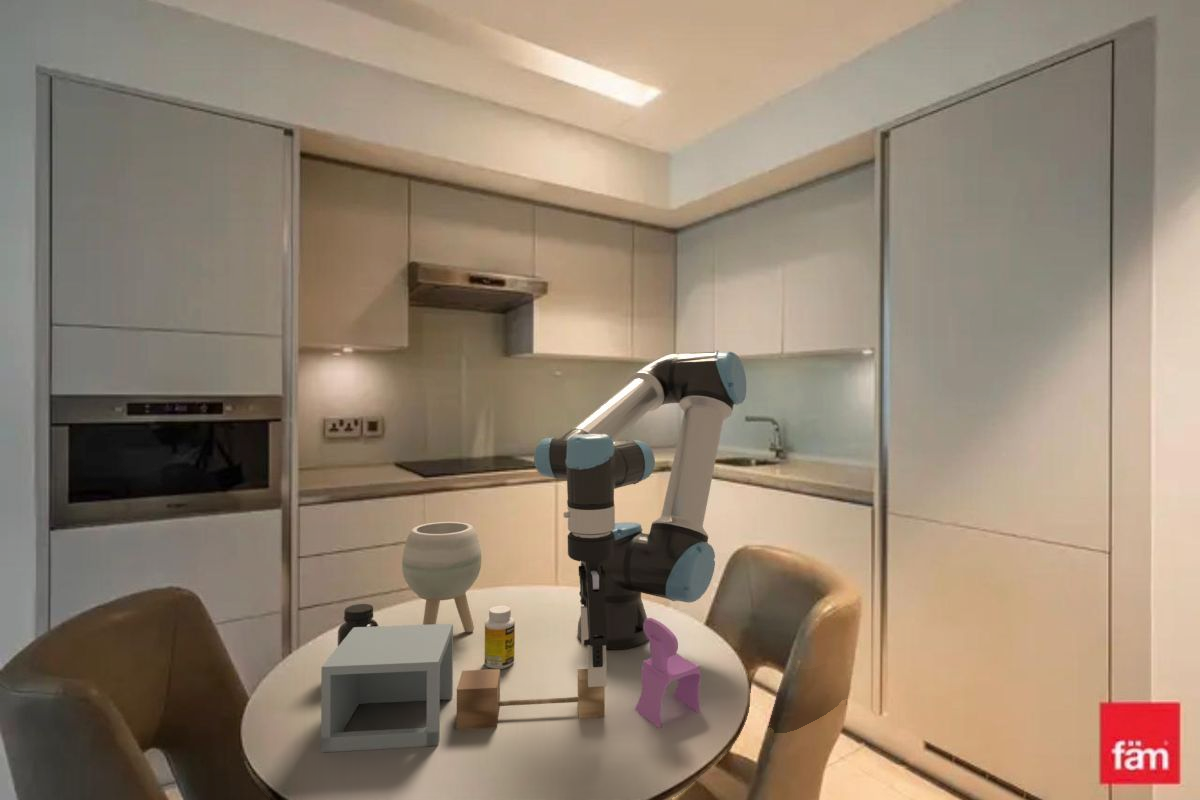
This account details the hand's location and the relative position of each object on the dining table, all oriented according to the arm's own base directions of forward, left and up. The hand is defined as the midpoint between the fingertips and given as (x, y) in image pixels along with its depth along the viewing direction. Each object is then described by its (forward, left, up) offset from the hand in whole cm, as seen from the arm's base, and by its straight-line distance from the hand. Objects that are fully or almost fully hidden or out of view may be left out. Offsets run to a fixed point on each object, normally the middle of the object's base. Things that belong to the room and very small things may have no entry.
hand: (592, 663), depth 92 cm
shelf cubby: (+31, 0, -7) cm, 32 cm away
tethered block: (+10, +1, -7) cm, 12 cm away
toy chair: (-12, +1, -8) cm, 14 cm away
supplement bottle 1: (+41, -16, -7) cm, 44 cm away
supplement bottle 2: (+16, -18, -7) cm, 25 cm away
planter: (+29, -33, -7) cm, 44 cm away
